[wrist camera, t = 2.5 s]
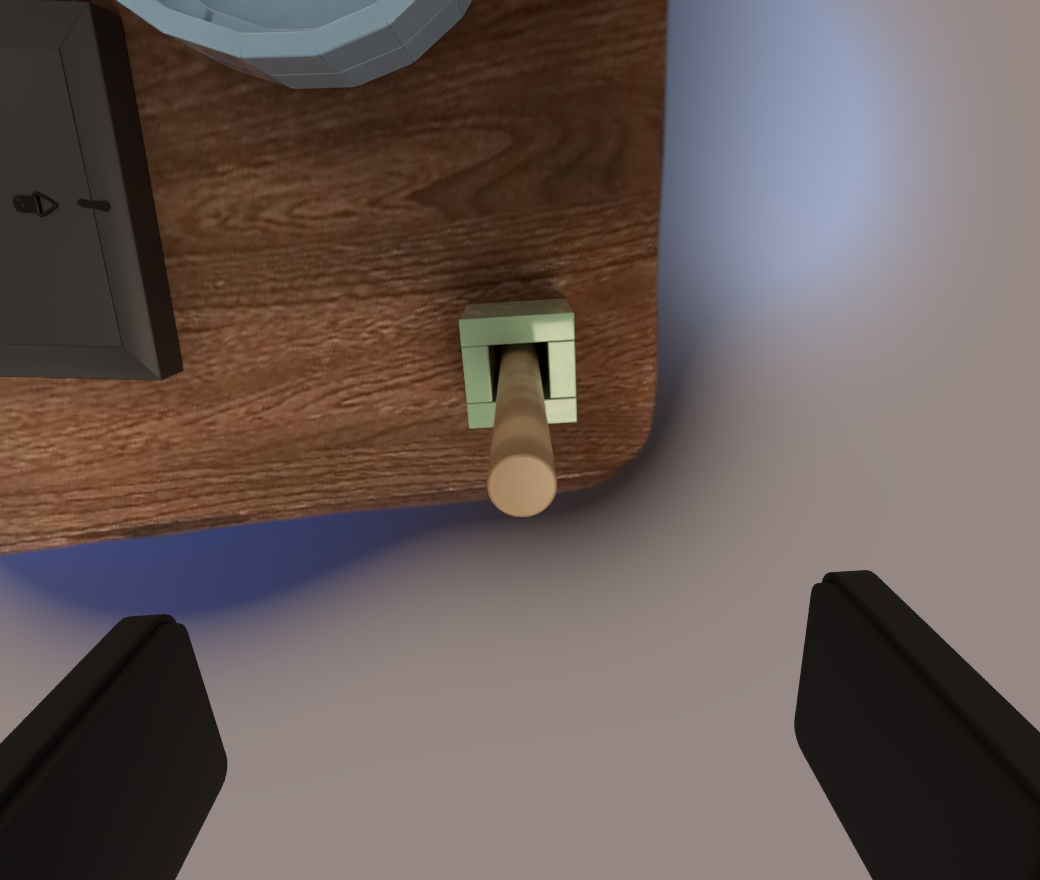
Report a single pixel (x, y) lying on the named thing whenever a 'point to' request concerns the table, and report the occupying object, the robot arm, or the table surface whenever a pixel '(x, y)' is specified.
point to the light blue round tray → (306, 35)
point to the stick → (521, 437)
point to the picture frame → (76, 204)
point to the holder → (513, 327)
